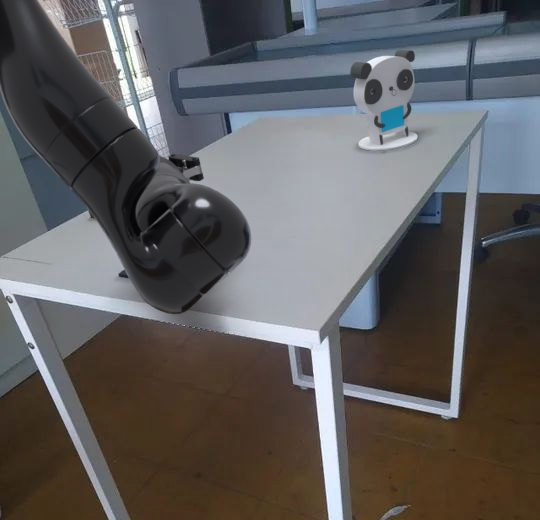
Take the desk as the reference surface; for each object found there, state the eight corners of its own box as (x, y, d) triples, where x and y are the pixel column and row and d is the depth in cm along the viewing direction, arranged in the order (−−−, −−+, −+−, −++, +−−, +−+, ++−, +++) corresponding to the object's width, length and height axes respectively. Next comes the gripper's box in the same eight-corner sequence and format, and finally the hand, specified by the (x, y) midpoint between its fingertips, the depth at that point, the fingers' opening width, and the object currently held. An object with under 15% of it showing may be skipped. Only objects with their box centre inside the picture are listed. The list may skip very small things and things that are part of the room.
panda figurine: (376, 155, 101) (372, 65, 92) (344, 145, 110) (337, 62, 101) (430, 138, 104) (430, 49, 96) (394, 129, 113) (391, 47, 104)
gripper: (213, 146, 57) (181, 122, 71) (78, 181, 54) (73, 149, 68) (228, 215, 61) (196, 180, 75) (104, 250, 59) (94, 207, 73)
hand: (137, 165), depth 72 cm, fingers closed on lighter, 3 cm apart
